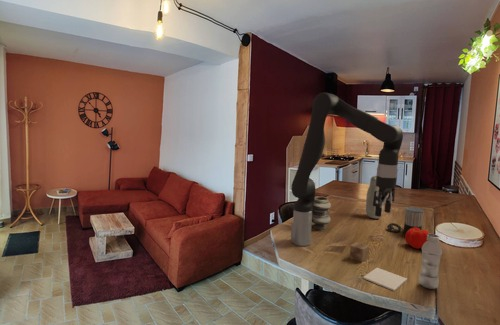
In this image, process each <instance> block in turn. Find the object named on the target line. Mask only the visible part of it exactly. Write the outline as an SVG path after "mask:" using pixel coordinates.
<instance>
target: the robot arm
mask: <svg viewBox="0 0 500 325" xmlns="http://www.w3.org/2000/svg"><path fill="white" fill-rule="evenodd" d="M328 115H334V116H337V117H341V118H342V119H344V120H346V121H347V122H349V123H350V124H351V125H353V126H354V127H355V128H357V129H359V130H361V131H363V132H364V133H367V134H369V135H371V136H372V137H373V138H375V139H377V140H378V141H379V142H382V143H383V147H382V149H380V151H379V154H378V161H377V162H378V163H377V168H376V174H375V176H376V186H377V187H379V191H375V192H374V200H373V206H375V207H376V210H375V216H378V217H380V218H381V217H382V215H381V213H382V206H383V207H384V209H383V212H384V213H388V214H389V213H391V212H392V211H391V209H392V204H393V203H394V202H395V195H396V188H397V179H398V171H399V170H398V164H399V154H400V150H401V147H402V144H403V139H404V132H403V129H402V127H400V126H398V125H394V124H393V125H391V124H389V123H386V122H385V121H382V120H381V119H379V118H378V117H376V116H374V115H372V114H370V113H367V112H366V111H363V110H360V109H358V108H357V107H354V106H352V105H351V104H349V103H347V102H345V101H344V100H343V99H341V98H340V97H338V96H337V95H335V94H333V93H330V92H329V93H328V92H320V93H318V94H317V95H316V97H315V98H314V99H313V104H312V109H311V115H310V121H309V125H308V130H307V132H306V133H307V134H306V137H305V139H304V144H303V147H302V152H301V156H300V160H299V163H298V167H297V169H296V172H295V175H294V178H293V180H292V183H291V189H290V190H291V193H292V195H293V196H294V197H295V198H297V200H296V201H295V203H293V218H292V223H291V226H290V228H291V229H290V230H291V231H290V242H292V244H294V245H295V246H299V247H308V246H310V245H311V244H312V240H311V239H312V228H311V226H312V225H313V224H312V223H313V222H312V208H313V205H314V200H315V197H316V183H315V182H314V180H313V179H311V178H310V177H311V174H312V172H313V170H314V168H315V167H316V166H317V164H318V163H319V161H320V159H321V158H322V155H323V152H324V150H325V149H324V148H325V144H326V135H325V124H326V121H327V117H328ZM382 214H383V213H382Z"/></svg>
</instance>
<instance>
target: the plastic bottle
mask: <svg viewBox="0 0 500 325" xmlns="http://www.w3.org/2000/svg"><path fill="white" fill-rule="evenodd" d="M439 238H440V236H439V235H438V234H433V233H429V234H428V235H427V241H426V242H425V243H424V244H423V246H422V249H421V256H422V257H421V267H420V272H419V275H418V282H419V284H420V285H421V286H422V287H424V288H425V289H429V290H435V289H437V288H438V286H439V285H440V284H439V282H440V281H439V278H440V277H439V267H440V261H441V257H442V254H443V250H442V247H441V245H440V244H439V241H440V239H439Z"/></svg>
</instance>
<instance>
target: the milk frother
mask: <svg viewBox="0 0 500 325" xmlns="http://www.w3.org/2000/svg"><path fill="white" fill-rule="evenodd" d="M404 209H405V212H404V226H403V227H401V226H400V225H399V224H397V223H393V222H390V223H389V224H388V225H387V226H386V228H387V230H388V231H390V232H393V233H400V232H401V230H402V231H403V232H402V234H403V235H404V236H405V235H406V233H407V231H408V230H409V229H413V228H414V227H417V228H419V229H420V230H423V229H422V226H423V218H424V217H423V216H424V212H425V211H424V209H423V208H419V207H415V206H406V207H405V208H404ZM394 226H395V227H396V228H398V229H396V230H395V227H394Z"/></svg>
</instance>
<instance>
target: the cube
mask: <svg viewBox="0 0 500 325" xmlns="http://www.w3.org/2000/svg"><path fill="white" fill-rule="evenodd" d="M349 248H350V249H349V258H350V259H352V260H354V261H356V262H359V263H364V262H366V261H367V260H369V257H370V245H368V244H366V243H365V244H364V243H362V242H358V241H356V242H354V243H352V244H350V247H349Z"/></svg>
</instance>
